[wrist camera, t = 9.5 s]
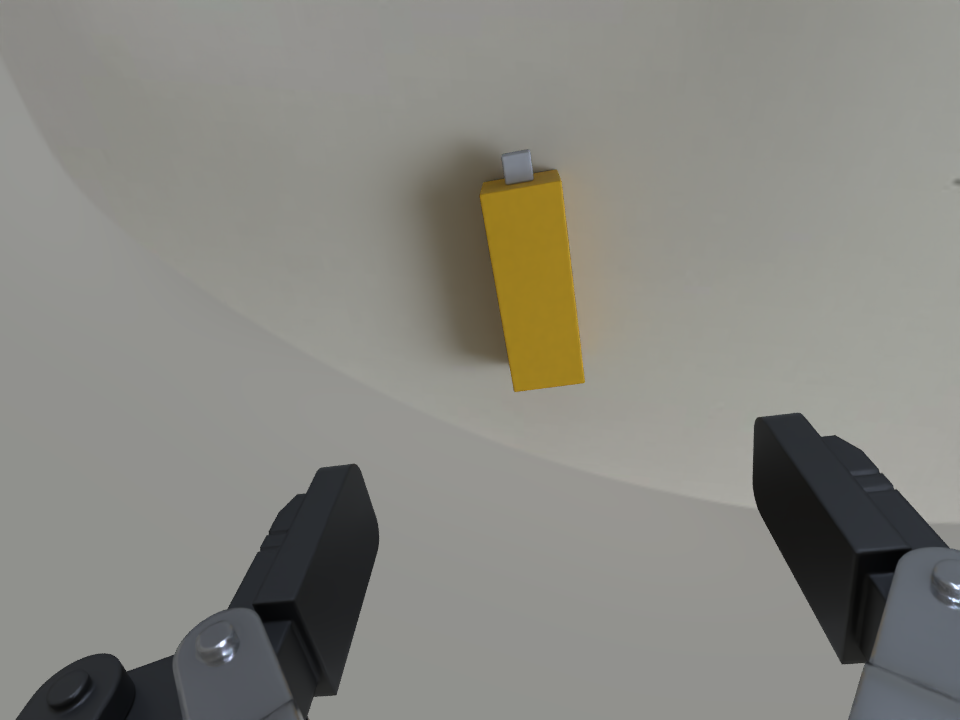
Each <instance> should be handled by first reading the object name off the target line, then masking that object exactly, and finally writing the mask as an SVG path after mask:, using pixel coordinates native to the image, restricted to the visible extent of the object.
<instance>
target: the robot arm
mask: <svg viewBox="0 0 960 720" xmlns="http://www.w3.org/2000/svg"><path fill="white" fill-rule="evenodd" d="M753 491H754V496H755V501H756V504H757V507H758V510H759V512H760V514H761V516H762V518H763V520H764V522H765V524H766V526H767V527H768V529H769V531H770V533H771V535H772V537H773V539H774V540H775V542H776V544H777V546H778V547H779V550H780V551H781V553H782V555H783V557H784V559H785V561H786V562H787V564H788V566H789V568H790V570H791V572H792V573H793V575H794V577H795V579H796V581H797V582H798V584H799V586H800V588H801V590H802V592H803V594H804V595H805V597H806V599H807V601H808V603H809V605H810V606H811V608H812V610H813V612H814V614H815V616H816V618H817V619H818V621H819V623H820V625H821V627H822V629H823V630H824V632H825V634H826V636H827V638H828V639H829V641H830V643H831V645H832V647H833V649H834V650H835V652H836V654H837V656H838V658H839V660H840V662H841V663H842V664H854V663H865V665H864V668H863V671H862V674H861V677H860V681H859V684H858V688H857V691H856V695H855V698H854V701H853V705H852V708H851V712H850V715H849V719H848V720H960V550H956V549H950V548H949V547H948V546H947V545H946V544H945V542H943V540H942V539H941V538H940V537H939V536H938V535H937V534H936V533H935V531H934V530H933V529H932V528H931V527H930V526H929V525H928V523H927V522H926V521H925V520H924V519H923V518H922V517H921V516H920V515H919V513H918V512H917V511H916V510H915V509H914V508H913V507H912V506H911V505H910V503H909V502H908V501H907V500H906V499H905V498H904V497H903V496H902V495H901V493H900V492H899V491H898V490H897V489H896V490H894V488H893V485H892V483H891V482H890V481H889V480H888V479H887V478H886V477H885V476H884V475H883V473H879V469H878V468H877V467H876V466H875V464H874V463H873V462H872V461H871V460H870V459H869V458H868V457H867V456H866V454H865V453H864V452H863V451H862V450H860V449H859V448H857V447H855V446H853V445H851V444H850V443H848V442H846V441H844V440H843V439H841V438H839V437H837V436H836V435H833V436H824V437H821V436H820V435H819V434H818V433H817V431H816V430H815V429H814V428H813V427H812V425H811V424H810V423H809V422H808V420H807V419H806V418H805V417H804V416H803V415H802V414H801V413H791V414H783V415H774V416H766V417H758V418H757V419H756V420H755V424H754V448H753ZM378 545H379V529H378V523H377V519H376V516H375V512H374V509H373V506H372V503H371V501H370V497H369V494H368V491H367V488H366V486H365V482H364V479H363V476H362V473H361V470H360V468H359V467H358V466H357V465H356V464H348V465H341V466H332V467H323V468H320V469H319V470H318V471H317V473H316V474H315V477H314V479H313V481H312V483H311V485H310V487H309V489H308V491H307V493H306V494H298V495H296V496H295V497H294V498H293V499H292V500H291V501H290V502H289V503H288V504H287V505H286V506H285V507H284V508H283V509H282V510H281V511H280V512H279V513H278V515H277V517H276V519H275V521H274V522H273V524H272V526H271V528H270V530H269V535H267V536H266V538H265V539H264V541H263V543H262V545H261V547H260V552H258V553H257V554H256V556H255V558H254V560H253V562H252V564H251V566H250V568H249V570H248V571H247V573H246V575H245V577H244V579H243V581H242V583H241V585H240V586H239V588H238V590H237V592H236V594H235V596H234V598H233V600H232V601H231V604H230V605H229V607H228V609H227V610H223V611H221V612H218V613H216V614H214V615H212V616H210V617H208V618H207V619H205V620H204V621H202V622H201V623H199V624H198V625H197V626H195V627H194V628H193V629H192V630H191V631H190V632H189V633H188V634H187V635H186V636H185V638H184V639H183V640H182V641H181V643H180V644H179V646H178V648H177V650H176V652H175V654H174V655H172V656H169V657H166V658H164V659H161V660H158V661H155V662H153V663H150V664H147V665H144V666H142V667H139V668H136V669H133V670H130V671H127V672H126V670H125V669H124V667H123V666H122V664H121V662H120V661H119V659H118V658H116V657H115V656H113V655H111V654H105V653H104V654H95V655H91V656H87V657H85V658H82V659H80V660H77V661H75V662H73V663H71V664H70V665H68V666H66V667H65V668H63V669H62V670H60V671H59V672H57V673H56V674H55V675H53V676H52V677H51V678H50V679H49V680H47V681H46V682H45V683H44V684H43V685H42V686H41V687H40V688H39V689H38V690H37V691H36V693H35V694H34V695H33V696H32V698H31V699H30V700H29V702H28V703H27V705H26V706H25V707H24V709H23V710H22V711H21V713H20V715H19V716H18V717H17V718H16V720H309V718H308V716H307V715H308V712H309V709H310V706H311V702H312V700H313V697H317V696H332V695H337V691H338V687H339V684H340V681H341V677H342V673H343V670H344V667H345V663H346V659H347V656H348V653H349V649H350V646H351V642H352V639H353V635H354V631H355V628H356V625H357V621H358V618H359V614H360V611H361V607H362V603H363V600H364V597H365V593H366V590H367V586H368V582H369V579H370V576H371V572H372V569H373V565H374V562H375V558H376V554H377V551H378Z"/></svg>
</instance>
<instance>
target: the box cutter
mask: <svg viewBox="0 0 960 720" xmlns="http://www.w3.org/2000/svg"><path fill="white" fill-rule="evenodd" d="M501 159H502V165H503V172H504V178H505V179H499V180H494V181H488V182H484V183H483V185H482V188H481V192H480V202H481V208H482V213H483V219H484V225H485V230H486V236H487V242H488V247H489V253H490V259H491V264H492V270H493V275H494V281H495V287H496V292H497V298H498V304H499V309H500V315H501V321H502V326H503V332H504V338H505V343H506V349H507V355H508V360H509V366H510V371H511V377H512V383H513V388H514V392H519V391H526V390H534V389H542V388H550V387H557V386H565V385H573V384H580V383H585V378H584V370H583V361H582V352H581V344H580V335H579V327H578V318H577V309H576V301H575V292H574V284H573V275H572V266H571V258H570V249H569V240H568V232H567V223H566V215H565V206H564V197H563V189H562V181H561V179H560V176H559V174H558V171H557V170H550V171H545V172H539V173H533V169H532V162H531V155H530V150H528V149H527V150H521V151H516V152H510V153H505V154H502V157H501Z"/></svg>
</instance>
